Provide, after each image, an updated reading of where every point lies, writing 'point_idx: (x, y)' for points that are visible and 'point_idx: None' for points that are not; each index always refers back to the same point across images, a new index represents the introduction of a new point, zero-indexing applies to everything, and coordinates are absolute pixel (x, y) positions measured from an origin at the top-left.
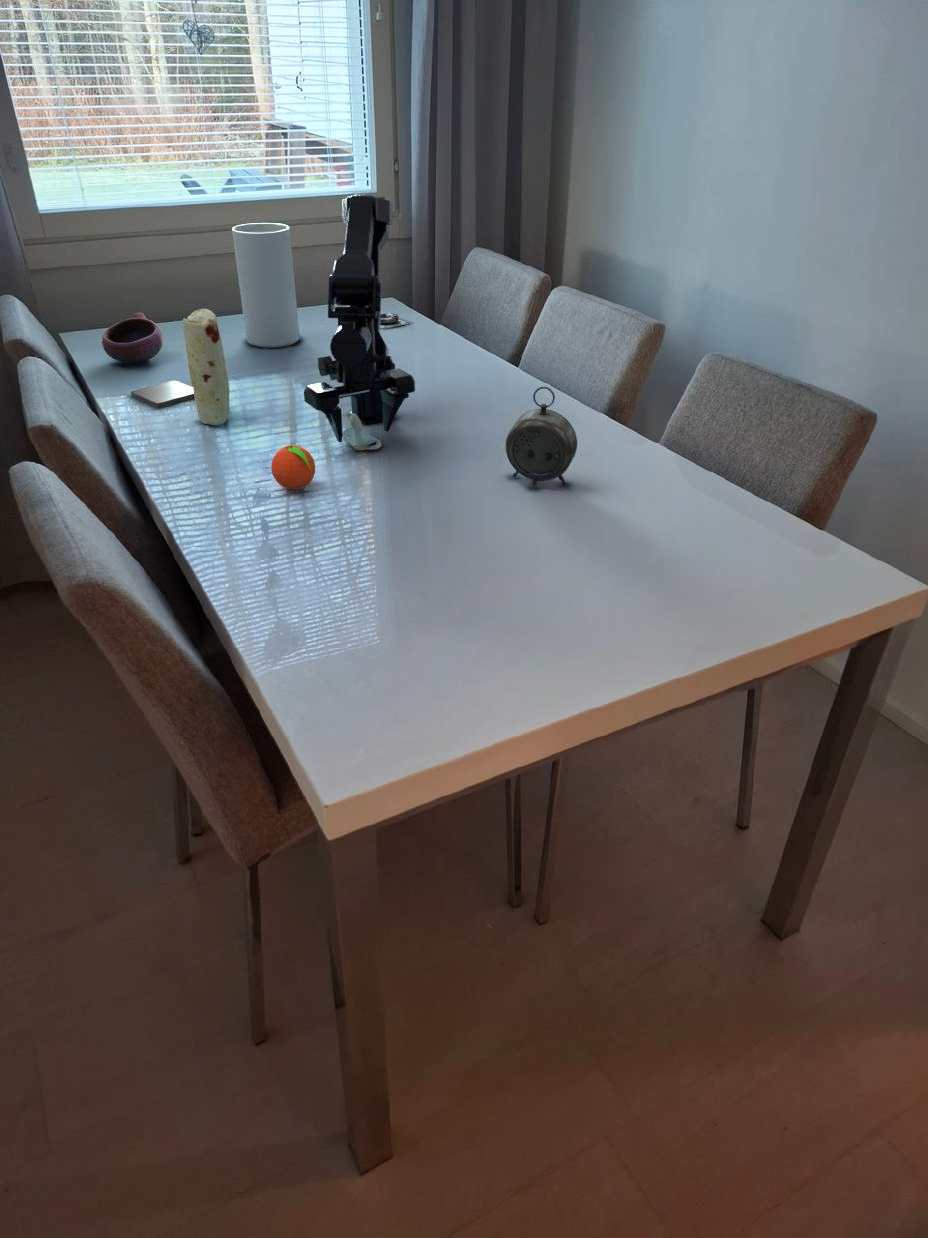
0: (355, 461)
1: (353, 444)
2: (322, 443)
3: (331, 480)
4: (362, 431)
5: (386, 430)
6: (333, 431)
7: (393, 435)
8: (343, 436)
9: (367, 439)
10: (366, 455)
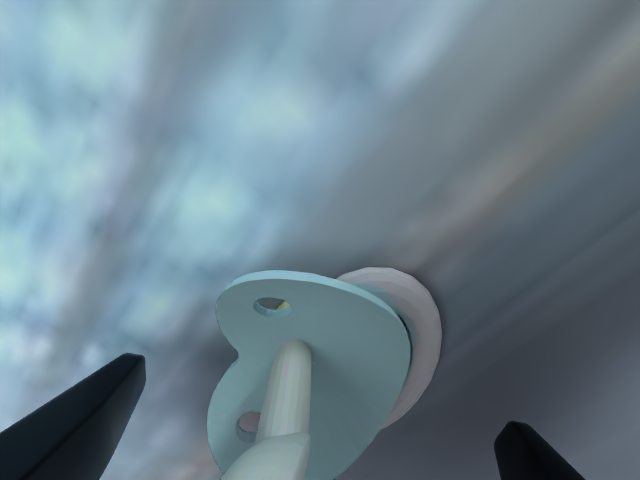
0: (181, 429)
1: (240, 376)
2: (124, 124)
3: None
4: (397, 333)
5: (496, 456)
6: (44, 410)
7: (580, 343)
8: (224, 300)
9: (357, 381)
10: None
